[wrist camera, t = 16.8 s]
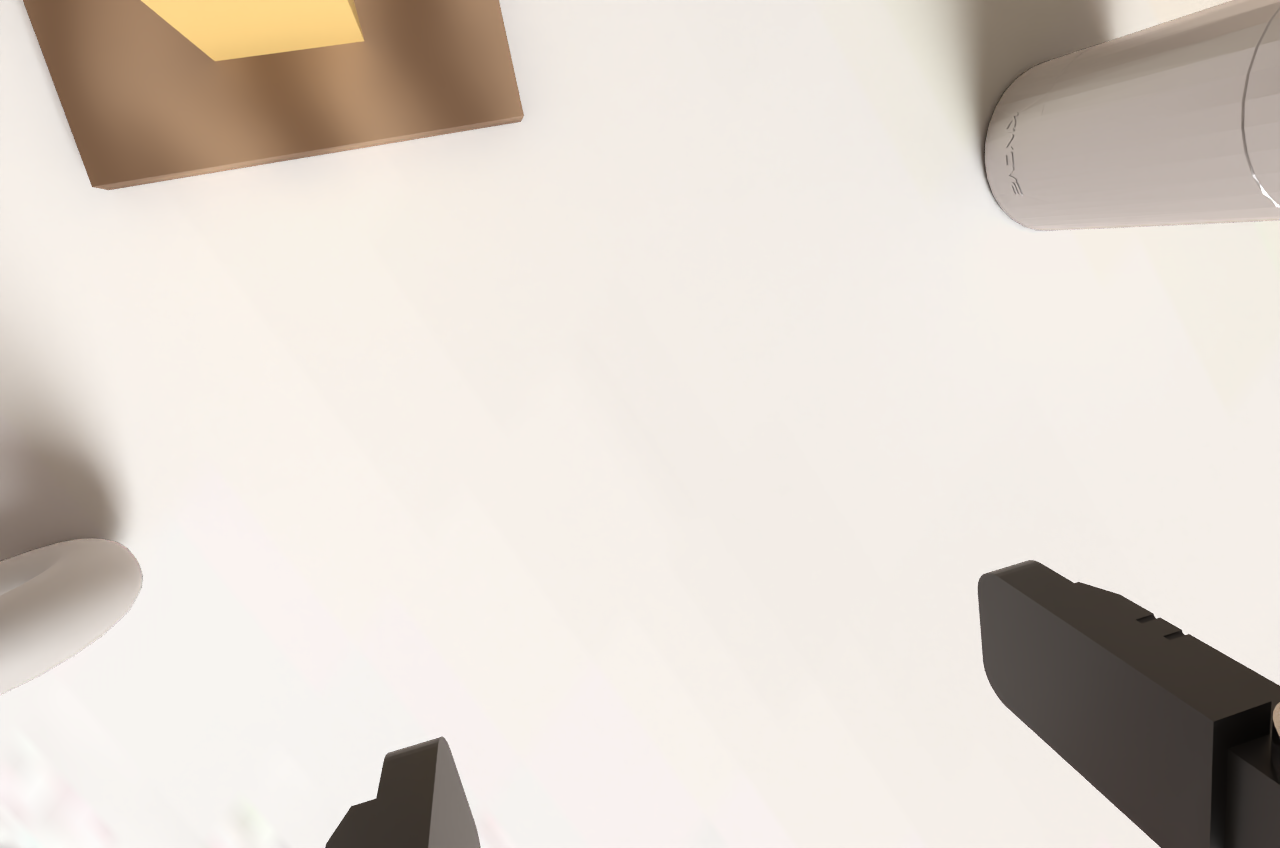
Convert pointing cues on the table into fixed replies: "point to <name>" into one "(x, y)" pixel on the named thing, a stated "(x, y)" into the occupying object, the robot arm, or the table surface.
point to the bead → (260, 24)
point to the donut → (61, 603)
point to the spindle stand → (268, 87)
